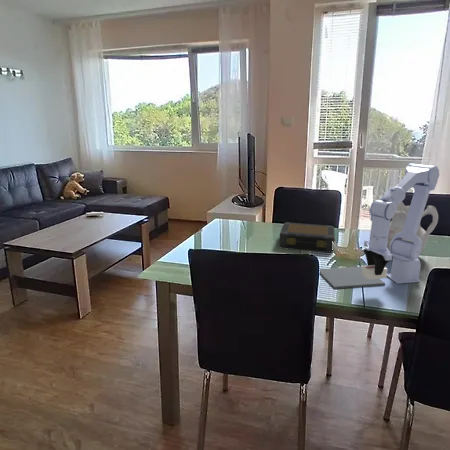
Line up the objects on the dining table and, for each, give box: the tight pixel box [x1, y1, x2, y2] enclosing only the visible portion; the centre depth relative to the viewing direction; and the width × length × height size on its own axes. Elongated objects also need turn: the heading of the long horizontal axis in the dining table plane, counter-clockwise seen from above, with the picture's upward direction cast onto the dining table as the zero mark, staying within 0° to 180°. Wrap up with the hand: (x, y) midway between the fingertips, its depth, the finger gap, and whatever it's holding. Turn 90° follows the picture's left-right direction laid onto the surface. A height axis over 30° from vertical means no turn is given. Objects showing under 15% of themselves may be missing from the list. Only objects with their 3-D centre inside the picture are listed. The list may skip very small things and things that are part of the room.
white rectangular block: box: [362, 264, 388, 280], centre depth 132 cm, size 7×4×4 cm, turn 99°
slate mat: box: [319, 265, 386, 290], centre depth 147 cm, size 20×16×1 cm
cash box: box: [278, 221, 336, 253], centre depth 184 cm, size 25×20×8 cm
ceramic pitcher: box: [387, 201, 439, 258], centre depth 166 cm, size 22×20×25 cm
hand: (374, 271), depth 132 cm, fingers closed on white rectangular block, 4 cm apart
